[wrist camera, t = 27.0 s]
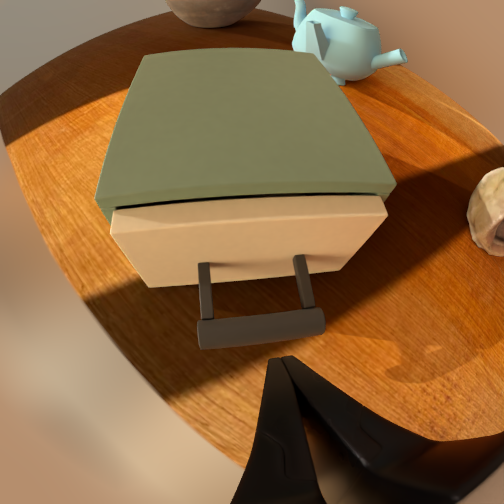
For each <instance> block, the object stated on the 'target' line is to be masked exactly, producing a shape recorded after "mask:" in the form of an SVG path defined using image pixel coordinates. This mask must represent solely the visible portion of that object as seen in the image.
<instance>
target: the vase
mask: <svg viewBox="0 0 504 504" xmlns="http://www.w3.org/2000/svg"><path fill="white" fill-rule="evenodd" d="M260 1H261V0H166V3H167V4H168V6H169V7H170V9H171V10H172V11H173V12H174V13H175V14H176V15H177V16H178V17H179V18H180V19H181V20H183V21H184V22H186V23H188V24H190V25H192V26H195V27H202V28H214V27H224V26H229V25H231V24H233V23H235V22H237V21H239V20H240V19H242V18H243V17H245V16H246V15H247V14H249V13H250V12H251V11H252V10H253V9H254V8H255V7H256V6H257V5H258V4H259V3H260Z"/></svg>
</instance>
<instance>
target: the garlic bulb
mask: <svg viewBox="0 0 504 504" xmlns="http://www.w3.org/2000/svg"><path fill="white" fill-rule="evenodd" d="M467 218H468V221H469V225H470V232H471V235H472V239H473V241H474V242H475V243H476V244H477V246H478V247H481V248H483V249H484V250H485V251H486V252H487V253H488V254H489V255H494V256H501V257H503V256H504V167H501V168H498V169H495V170H493V171H491V172H489V173H487V174H486V175H485V176H484V177H483V179H482V180H481V181H480V182H479V184H478V185H477V187H476V189H475V190H474V192H473V193H472V195H471V197H470V202H469V207H468V211H467Z"/></svg>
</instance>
